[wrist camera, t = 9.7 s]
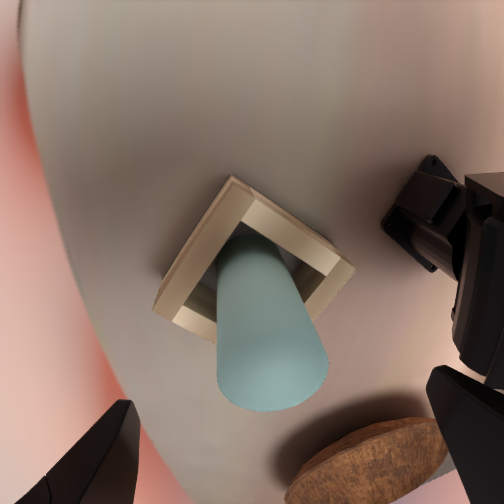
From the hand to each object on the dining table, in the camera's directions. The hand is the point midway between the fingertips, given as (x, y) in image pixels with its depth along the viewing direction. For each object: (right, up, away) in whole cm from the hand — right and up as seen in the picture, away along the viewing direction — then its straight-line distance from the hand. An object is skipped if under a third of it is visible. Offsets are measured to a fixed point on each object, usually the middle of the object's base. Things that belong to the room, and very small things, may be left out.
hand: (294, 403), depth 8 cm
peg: (-1, +3, +12) cm, 13 cm away
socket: (-1, +4, +12) cm, 13 cm away
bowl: (+12, -19, +23) cm, 32 cm away
